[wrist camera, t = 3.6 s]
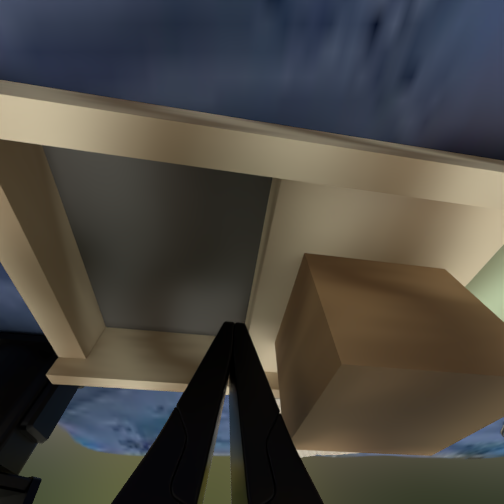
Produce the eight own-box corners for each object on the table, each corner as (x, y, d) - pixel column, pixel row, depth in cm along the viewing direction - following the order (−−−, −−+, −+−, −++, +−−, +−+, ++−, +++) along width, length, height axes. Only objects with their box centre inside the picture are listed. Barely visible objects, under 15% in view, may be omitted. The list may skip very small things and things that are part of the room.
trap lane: (88, 330, 16) (52, 383, 13) (-20, 76, 8) (-178, 66, 5) (594, 371, 19) (655, 420, 16) (877, 220, 11) (1098, 265, 8)
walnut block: (274, 342, 12) (284, 449, 9) (304, 252, 9) (341, 364, 5) (379, 351, 13) (431, 455, 9) (444, 268, 9) (569, 380, 6)
